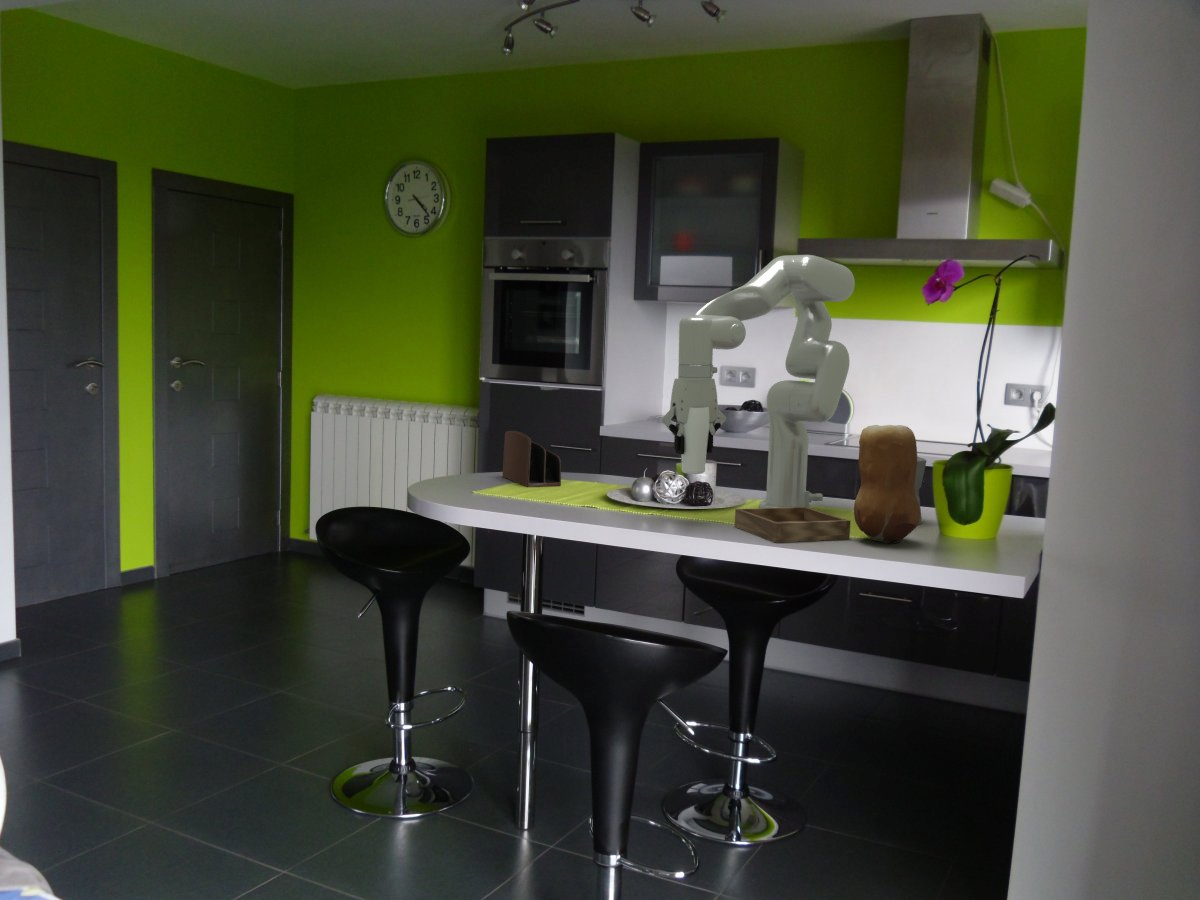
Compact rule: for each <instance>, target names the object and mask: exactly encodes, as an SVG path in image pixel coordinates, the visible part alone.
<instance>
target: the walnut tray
mask: <svg viewBox="0 0 1200 900" xmlns="http://www.w3.org/2000/svg"><path fill="white" fill-rule="evenodd" d="M851 523H852V522H851V519H850V520H849V519H845V518H843V517H840V516H836V515H833V514H830V513H827V512H823V511H820V510H818V509H815V508H812V507H811V508H808V507H781V508H760V507H757V508H756V507H754V508H735V512H734V528H736V527H738V528H737V529H739V528H741V529H743V530H742V531H744V530H745V532H747V531H748V532H747V533H749V534H752V535H754V536H757V537H759V538H762V539H765V540H768V541H770V542H773V543H775V544H776V543H777V544H778V543H799V542H798V541H803V542H818V541H819V542H821V540H824V541H840V540H841V541H842V540H843V541H844V540H846V541H847V540H850V538H851V536H850V535H851ZM741 529H740V530H741Z"/></svg>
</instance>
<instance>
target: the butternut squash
mask: <svg viewBox="0 0 1200 900" xmlns="http://www.w3.org/2000/svg"><path fill="white" fill-rule="evenodd" d="M858 444H859V448H858V469H859V474H860V487H859V490H858V493H857V495H856V498H855V500H854V504H853V506H854V507H853V517H854V521H855V523H856V526H857V527H858V529H859V531H861V532H863V533H864V534H865V535H866V536H867V537H868V538H870V539H872V541H876V542H880V543H884V544H892V545H893V544H896V543H899V542H901V541H902V540H903V539H905V538H906V537H907V536H909V535H910V534H911V533H913V531H914V530H916V528H918V526H919V525H918V523H919V519H920V516H921V517H922V513H921V514H920V508H921V505H920V506H919V503H918V500H917V497H916V493H915V476H916V469H917V457H918V447H917V440H916V436H915V434H914V432H913V430H912V429H911V428H910V427H908V426H907V425H903V424H902V425H901V424H895V425H893V424H887V425H886V424H885V425H878V424H873V425H868V426H865V427H864V428H863V429H862V430H861V432H860V437H859V443H858Z"/></svg>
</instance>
